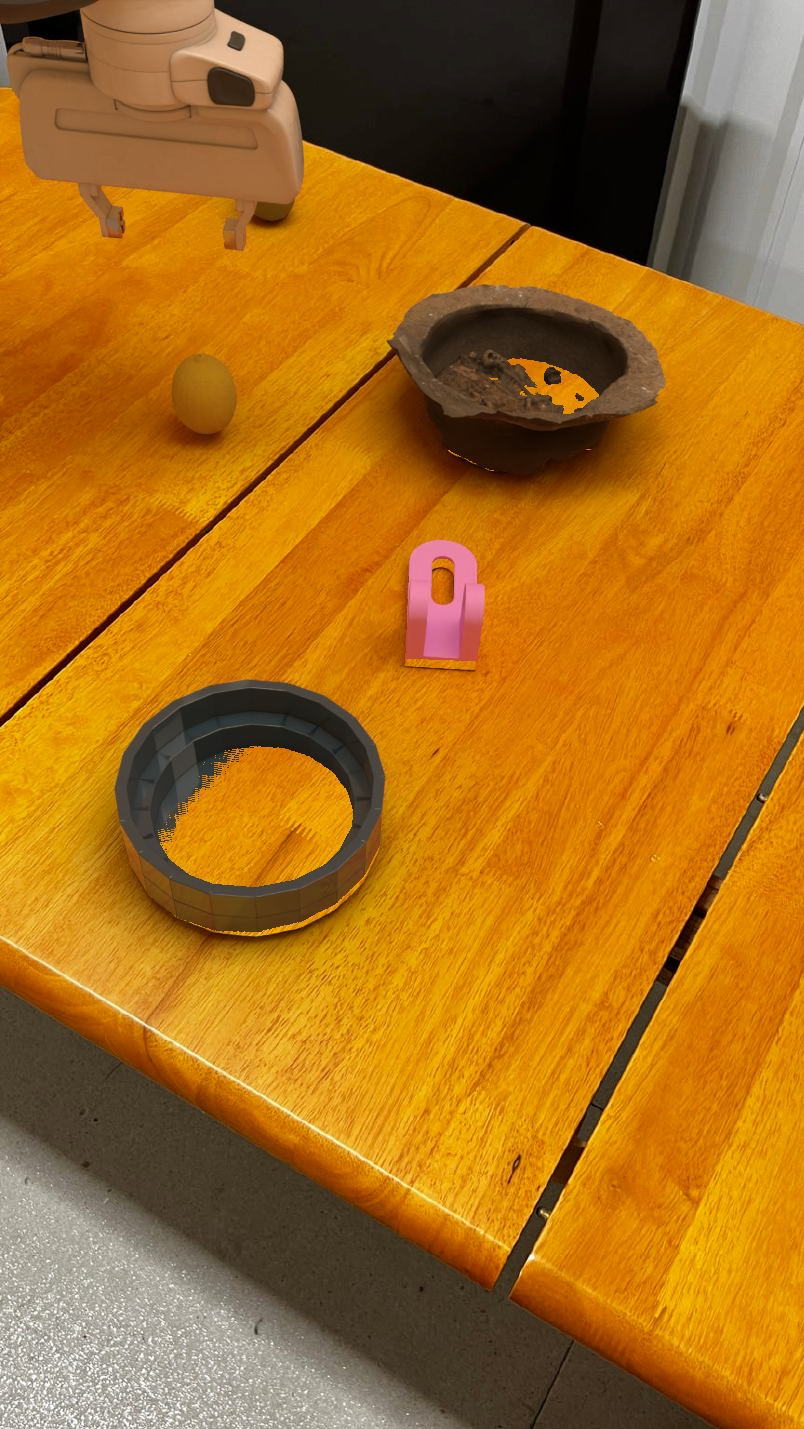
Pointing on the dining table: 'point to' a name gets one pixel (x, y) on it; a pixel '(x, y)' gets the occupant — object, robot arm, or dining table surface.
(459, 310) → the stone bowl
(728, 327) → the dining table surface
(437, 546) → the bracket
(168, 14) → the robot arm
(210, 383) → the lemon
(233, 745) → the dark grey round ring
